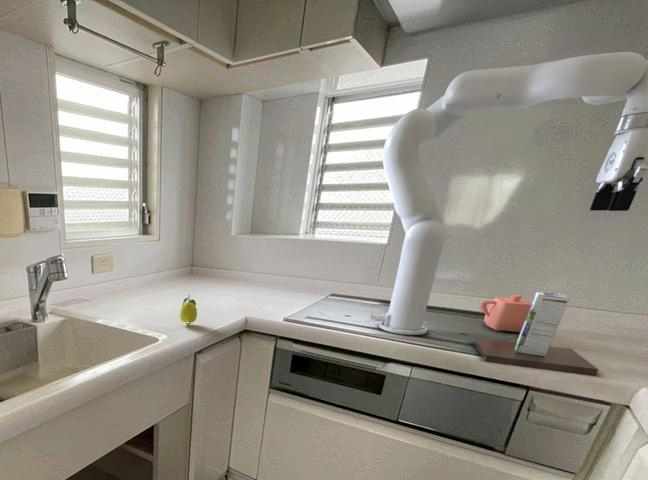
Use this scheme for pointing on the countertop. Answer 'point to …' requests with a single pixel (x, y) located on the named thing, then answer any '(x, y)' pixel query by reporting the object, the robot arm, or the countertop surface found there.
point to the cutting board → (534, 357)
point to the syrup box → (541, 323)
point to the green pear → (188, 311)
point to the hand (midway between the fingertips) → (607, 210)
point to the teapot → (506, 313)
